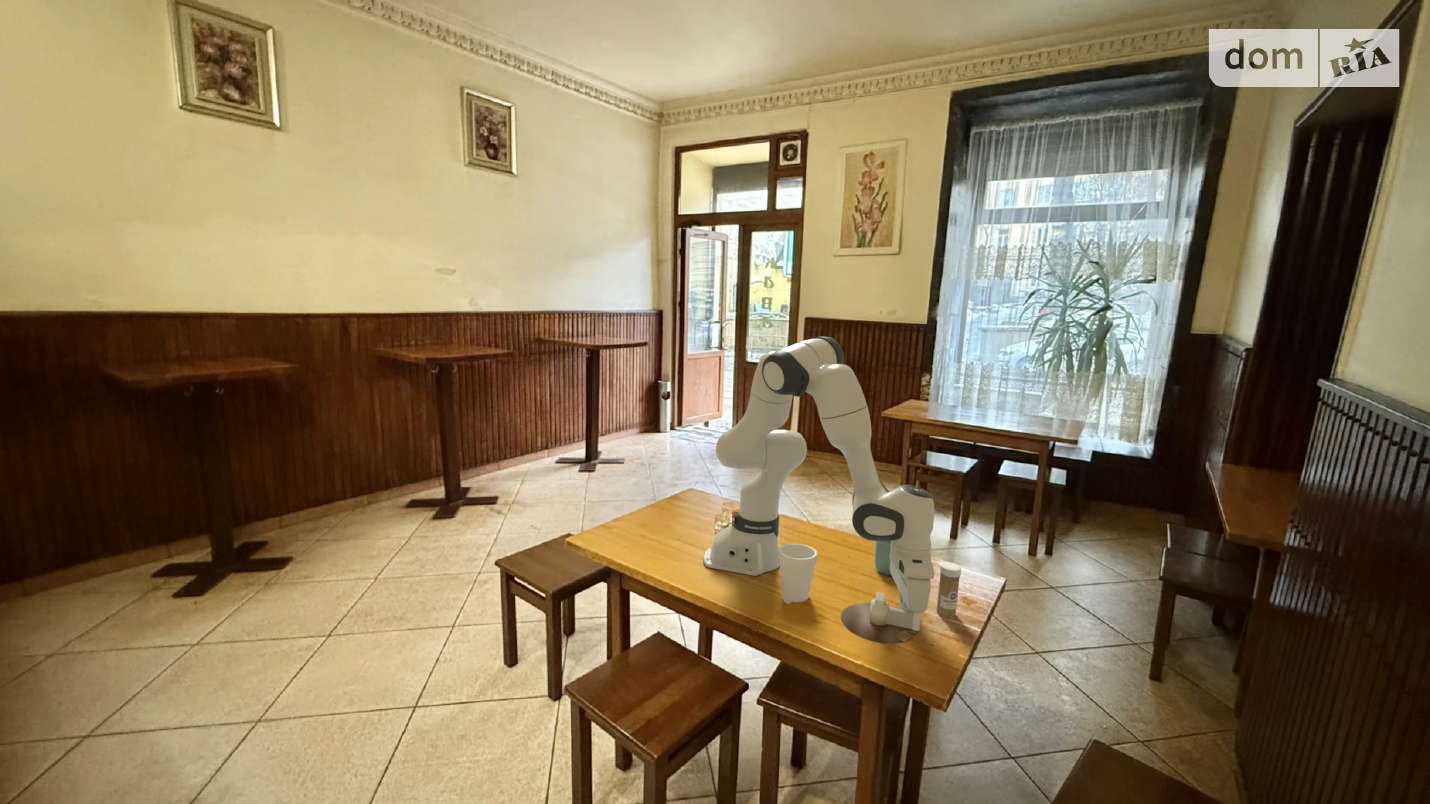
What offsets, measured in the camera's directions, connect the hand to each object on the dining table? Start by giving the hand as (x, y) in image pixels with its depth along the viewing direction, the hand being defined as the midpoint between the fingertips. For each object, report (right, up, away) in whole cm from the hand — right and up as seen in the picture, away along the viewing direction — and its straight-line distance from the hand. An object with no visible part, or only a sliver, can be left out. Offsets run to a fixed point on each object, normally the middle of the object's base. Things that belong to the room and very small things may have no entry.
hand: (904, 609), depth 133 cm
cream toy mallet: (-4, -2, -4) cm, 5 cm away
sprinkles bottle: (+11, -3, +3) cm, 12 cm away
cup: (+4, +1, +26) cm, 26 cm away
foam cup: (-25, -1, +9) cm, 26 cm away
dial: (-7, -3, -2) cm, 8 cm away
